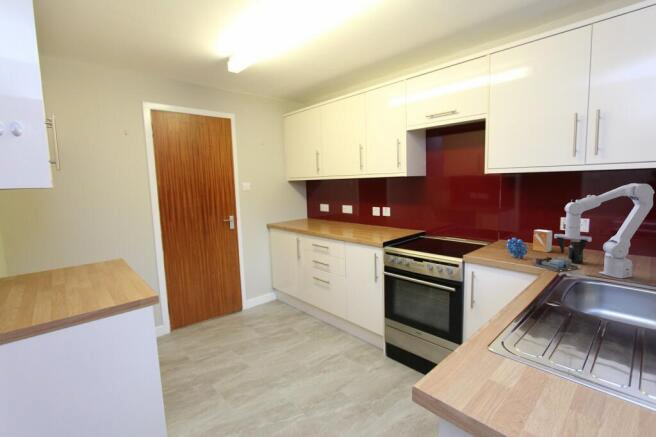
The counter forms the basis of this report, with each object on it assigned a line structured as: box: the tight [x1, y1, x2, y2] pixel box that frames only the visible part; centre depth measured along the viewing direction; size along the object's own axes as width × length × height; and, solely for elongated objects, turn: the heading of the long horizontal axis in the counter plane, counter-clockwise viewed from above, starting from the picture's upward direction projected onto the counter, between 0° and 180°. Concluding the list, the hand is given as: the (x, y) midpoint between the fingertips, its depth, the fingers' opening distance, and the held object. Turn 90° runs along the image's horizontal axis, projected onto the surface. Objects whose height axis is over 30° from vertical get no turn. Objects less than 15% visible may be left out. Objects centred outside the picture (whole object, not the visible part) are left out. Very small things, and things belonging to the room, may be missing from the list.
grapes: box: [505, 237, 528, 259], centre depth 187 cm, size 12×7×12 cm, turn 42°
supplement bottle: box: [567, 239, 585, 265], centre depth 173 cm, size 7×7×12 cm
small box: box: [532, 229, 553, 253], centre depth 201 cm, size 8×6×13 cm
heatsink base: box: [532, 256, 579, 272], centre depth 167 cm, size 14×14×4 cm
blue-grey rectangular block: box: [546, 258, 565, 267], centre depth 165 cm, size 7×5×3 cm, turn 15°
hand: (571, 253), depth 156 cm, fingers open, 6 cm apart
